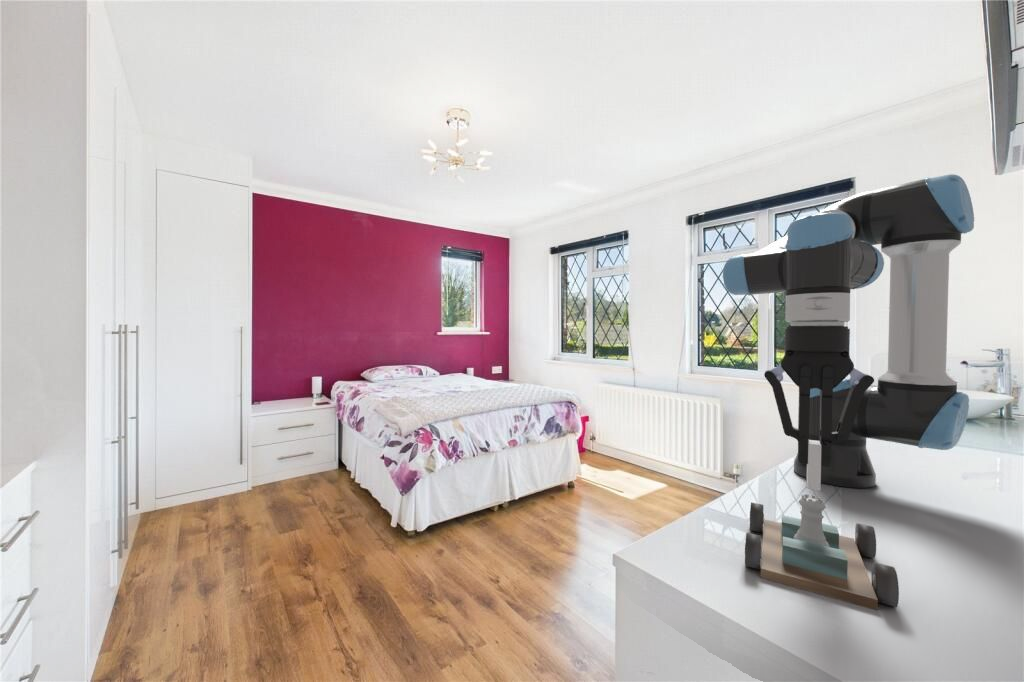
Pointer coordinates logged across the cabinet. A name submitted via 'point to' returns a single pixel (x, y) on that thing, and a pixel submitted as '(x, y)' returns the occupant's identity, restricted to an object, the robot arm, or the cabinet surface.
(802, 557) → the chassis
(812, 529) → the rook chess piece
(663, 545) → the cabinet surface
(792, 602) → the cabinet surface
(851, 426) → the robot arm
